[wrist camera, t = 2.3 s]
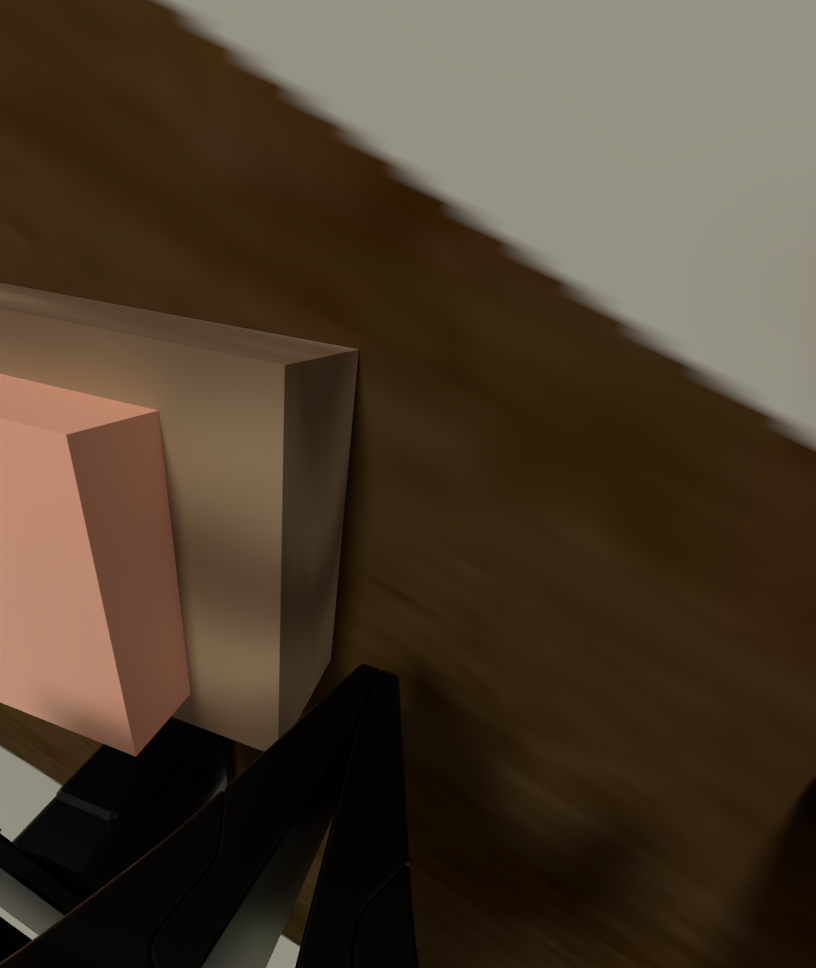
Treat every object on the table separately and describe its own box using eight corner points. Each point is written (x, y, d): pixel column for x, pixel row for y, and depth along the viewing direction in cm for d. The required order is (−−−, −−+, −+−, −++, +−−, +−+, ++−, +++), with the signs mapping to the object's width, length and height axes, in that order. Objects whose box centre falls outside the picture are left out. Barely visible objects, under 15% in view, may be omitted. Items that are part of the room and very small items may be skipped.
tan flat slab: (330, 659, 16) (277, 756, 13) (-21, 545, 19) (-145, 597, 16) (358, 349, 11) (284, 365, 8) (-122, 260, 14) (-337, 241, 11)
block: (190, 693, 13) (135, 756, 11) (34, 636, 13) (-40, 686, 12) (158, 410, 9) (66, 434, 7) (-55, 361, 10) (-183, 371, 8)
